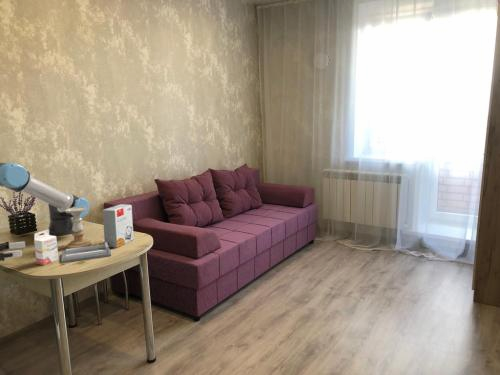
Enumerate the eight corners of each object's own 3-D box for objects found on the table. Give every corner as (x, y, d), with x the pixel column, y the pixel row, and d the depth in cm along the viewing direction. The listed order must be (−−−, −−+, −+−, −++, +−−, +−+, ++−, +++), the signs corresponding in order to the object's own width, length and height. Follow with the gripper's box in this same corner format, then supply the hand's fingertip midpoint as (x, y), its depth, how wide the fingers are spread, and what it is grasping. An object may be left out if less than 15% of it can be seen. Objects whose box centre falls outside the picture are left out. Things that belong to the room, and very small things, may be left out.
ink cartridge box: (44, 265, 184) (40, 234, 182) (36, 264, 186) (32, 233, 184) (59, 259, 192) (56, 229, 189) (51, 258, 194) (48, 228, 191)
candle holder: (85, 240, 220) (82, 205, 217) (96, 245, 212) (92, 208, 208) (62, 246, 212) (59, 209, 208) (72, 251, 203) (68, 212, 200)
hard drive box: (116, 248, 207) (113, 210, 203) (104, 247, 209) (101, 210, 206) (134, 239, 221) (131, 204, 218) (122, 238, 224) (119, 203, 220)
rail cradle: (62, 254, 200) (61, 245, 199) (108, 247, 208) (108, 239, 207) (61, 263, 187) (60, 254, 186) (111, 255, 196) (110, 247, 195)
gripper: (-25, 254, 188) (27, 248, 196) (-38, 273, 165) (20, 265, 173) (-27, 239, 186) (25, 233, 195) (-41, 256, 164) (18, 248, 172)
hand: (23, 248), depth 184 cm, fingers open, 13 cm apart
